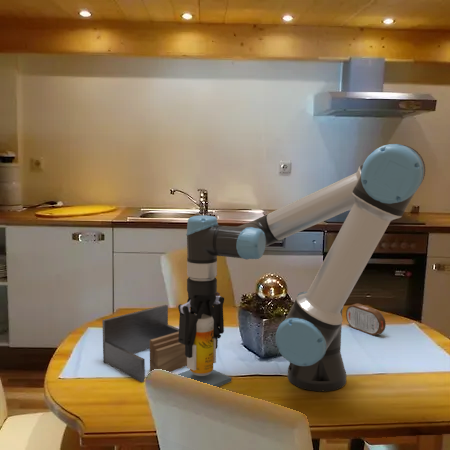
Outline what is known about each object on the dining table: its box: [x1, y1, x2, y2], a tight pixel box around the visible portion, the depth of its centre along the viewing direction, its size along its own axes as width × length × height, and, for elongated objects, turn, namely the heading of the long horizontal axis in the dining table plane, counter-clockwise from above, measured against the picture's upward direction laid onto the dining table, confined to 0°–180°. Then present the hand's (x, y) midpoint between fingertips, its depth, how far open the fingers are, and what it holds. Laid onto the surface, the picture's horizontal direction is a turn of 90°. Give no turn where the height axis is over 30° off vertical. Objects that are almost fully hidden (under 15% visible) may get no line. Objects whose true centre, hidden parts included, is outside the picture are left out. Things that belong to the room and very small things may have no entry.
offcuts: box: [149, 332, 187, 373], centre depth 147 cm, size 4×11×9 cm, turn 134°
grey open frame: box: [102, 304, 190, 383], centre depth 151 cm, size 18×22×12 cm
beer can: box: [189, 314, 214, 376], centre depth 138 cm, size 6×6×15 cm
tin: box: [345, 303, 387, 336], centre depth 178 cm, size 15×3×8 cm, turn 34°
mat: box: [177, 369, 232, 388], centre depth 139 cm, size 11×11×1 cm
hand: (201, 364), depth 139 cm, fingers closed on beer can, 6 cm apart
